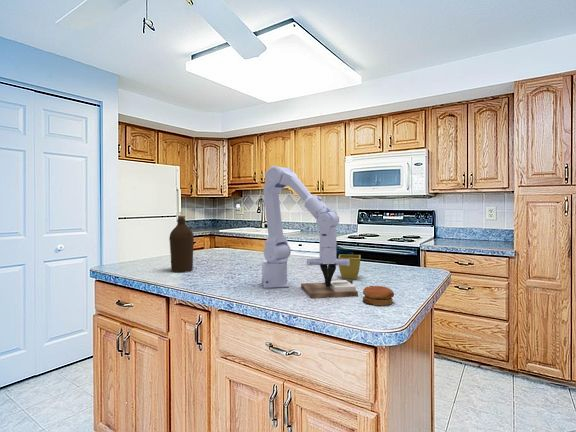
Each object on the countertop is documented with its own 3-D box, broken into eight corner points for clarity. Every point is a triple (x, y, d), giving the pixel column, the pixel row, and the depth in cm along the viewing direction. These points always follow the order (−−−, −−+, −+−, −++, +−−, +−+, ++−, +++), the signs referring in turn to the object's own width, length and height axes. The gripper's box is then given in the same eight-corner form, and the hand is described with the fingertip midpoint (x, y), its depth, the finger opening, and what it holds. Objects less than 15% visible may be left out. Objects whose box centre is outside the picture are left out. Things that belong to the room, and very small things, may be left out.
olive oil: (196, 268, 169) (196, 215, 168) (189, 273, 158) (189, 216, 157) (174, 268, 169) (174, 215, 168) (166, 272, 158) (165, 216, 158)
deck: (310, 298, 115) (310, 293, 115) (301, 287, 130) (301, 283, 130) (357, 296, 118) (357, 291, 118) (343, 285, 133) (343, 281, 133)
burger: (386, 308, 105) (386, 292, 105) (357, 303, 110) (357, 288, 110) (398, 301, 113) (398, 286, 112) (370, 296, 118) (370, 282, 118)
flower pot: (360, 280, 142) (360, 258, 141) (338, 279, 143) (338, 257, 143) (360, 276, 150) (360, 254, 150) (339, 275, 152) (339, 254, 152)
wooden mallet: (353, 284, 127) (353, 270, 127) (324, 284, 128) (324, 270, 128) (351, 282, 132) (351, 268, 131) (324, 281, 132) (324, 268, 132)
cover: (335, 291, 118) (335, 286, 118) (326, 284, 127) (326, 279, 127) (355, 290, 119) (355, 285, 119) (345, 284, 129) (345, 278, 129)
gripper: (347, 245, 126) (347, 283, 126) (306, 245, 126) (306, 283, 127) (350, 248, 118) (350, 288, 119) (306, 247, 119) (306, 288, 120)
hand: (327, 286), depth 122 cm, fingers closed
